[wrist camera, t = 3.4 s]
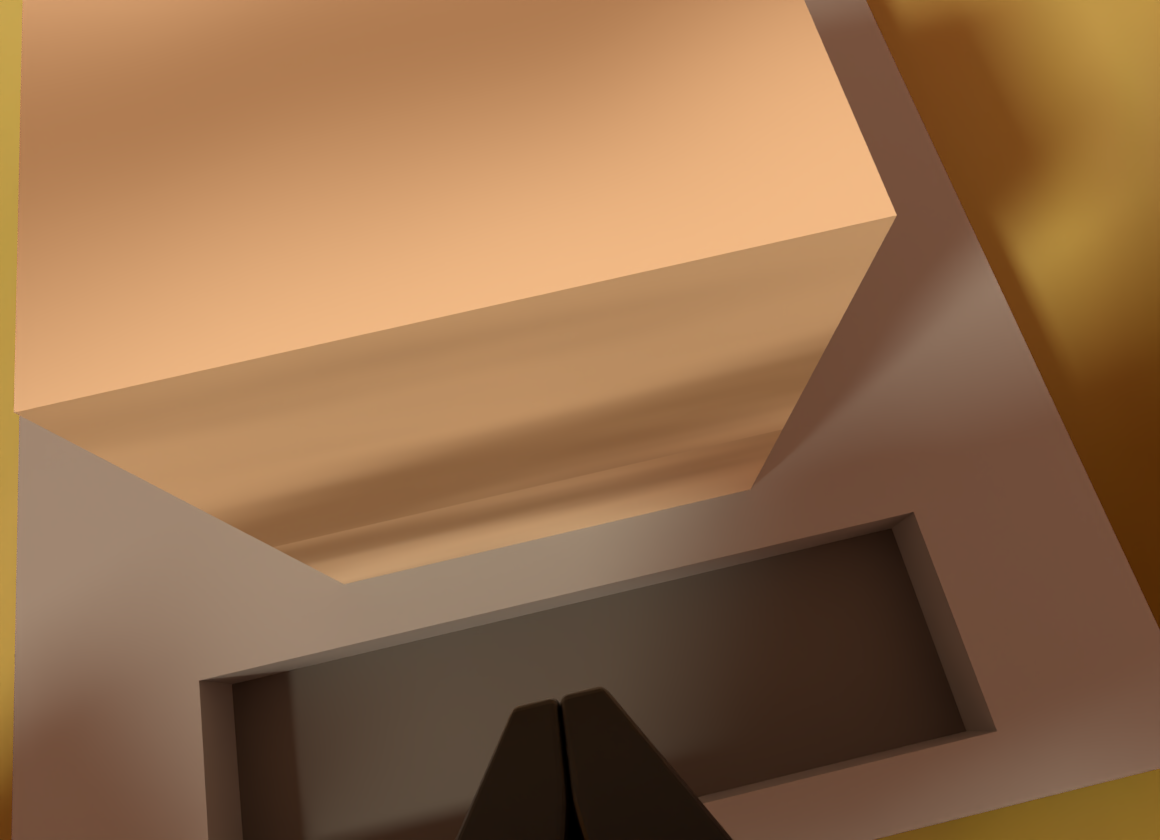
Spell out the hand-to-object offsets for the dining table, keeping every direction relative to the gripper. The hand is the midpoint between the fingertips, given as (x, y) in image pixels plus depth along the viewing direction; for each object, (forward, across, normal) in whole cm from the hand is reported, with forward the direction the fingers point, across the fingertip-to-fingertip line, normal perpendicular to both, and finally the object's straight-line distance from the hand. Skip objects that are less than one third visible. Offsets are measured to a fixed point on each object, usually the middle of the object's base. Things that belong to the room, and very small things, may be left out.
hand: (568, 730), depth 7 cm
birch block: (+10, 0, -2) cm, 10 cm away
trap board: (+10, 0, 0) cm, 10 cm away
